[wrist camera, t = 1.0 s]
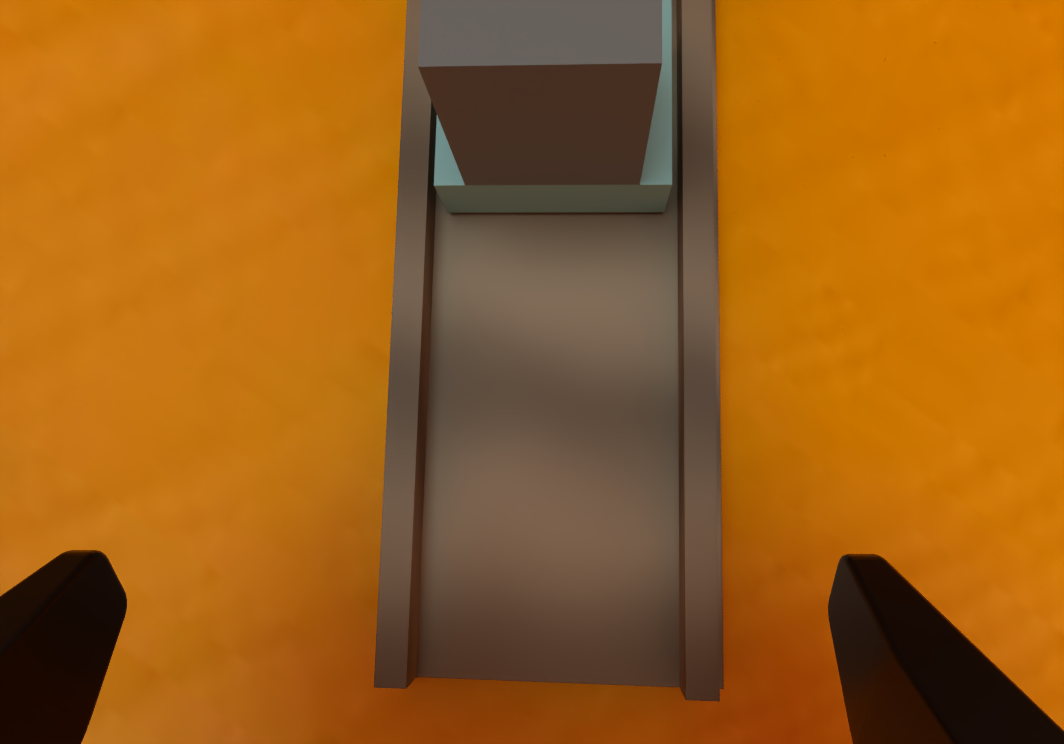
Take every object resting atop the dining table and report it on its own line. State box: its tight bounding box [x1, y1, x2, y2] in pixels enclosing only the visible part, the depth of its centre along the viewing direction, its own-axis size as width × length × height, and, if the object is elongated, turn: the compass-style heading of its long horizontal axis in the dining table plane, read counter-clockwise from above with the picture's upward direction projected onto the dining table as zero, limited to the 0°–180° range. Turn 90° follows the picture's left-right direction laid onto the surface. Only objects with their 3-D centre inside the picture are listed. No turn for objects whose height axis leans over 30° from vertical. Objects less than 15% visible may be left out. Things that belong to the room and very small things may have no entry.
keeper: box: [418, 0, 672, 213], centre depth 18 cm, size 5×6×8 cm
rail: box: [374, 0, 724, 701], centre depth 20 cm, size 26×9×6 cm, turn 179°
